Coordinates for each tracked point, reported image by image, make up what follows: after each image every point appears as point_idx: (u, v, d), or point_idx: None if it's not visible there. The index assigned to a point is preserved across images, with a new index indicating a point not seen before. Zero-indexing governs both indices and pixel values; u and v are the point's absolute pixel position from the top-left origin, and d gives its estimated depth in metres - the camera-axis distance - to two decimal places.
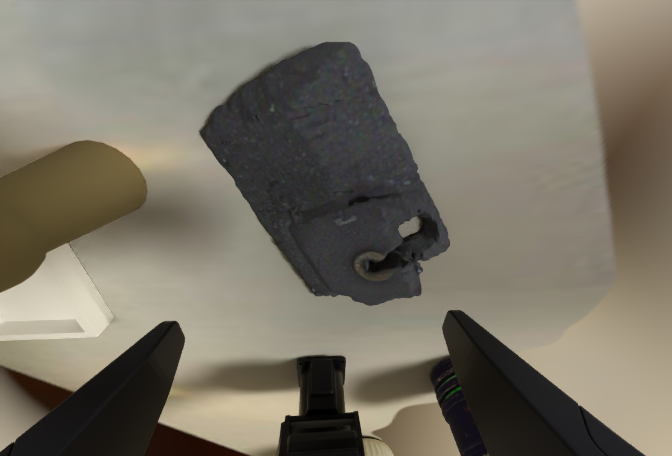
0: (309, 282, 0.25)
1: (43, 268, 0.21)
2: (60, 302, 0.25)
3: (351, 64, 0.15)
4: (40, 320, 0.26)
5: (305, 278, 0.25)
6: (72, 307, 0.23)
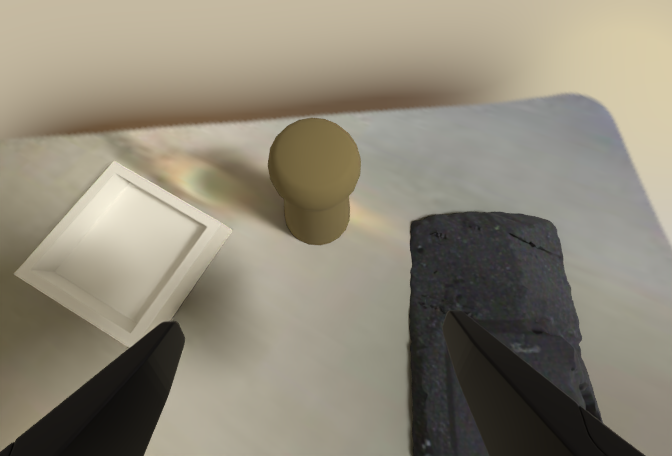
0: (429, 425, 0.19)
1: (206, 238, 0.20)
2: (142, 285, 0.20)
3: (552, 233, 0.22)
4: (88, 293, 0.20)
5: (427, 415, 0.19)
6: (168, 292, 0.19)
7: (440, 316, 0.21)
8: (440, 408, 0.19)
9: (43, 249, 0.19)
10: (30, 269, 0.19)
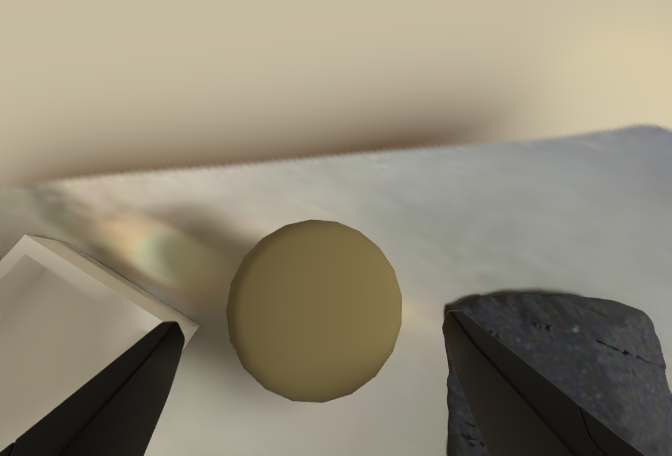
0: None
1: None
2: None
3: (649, 331, 0.15)
4: None
5: None
6: None
7: None
8: None
9: None
10: None
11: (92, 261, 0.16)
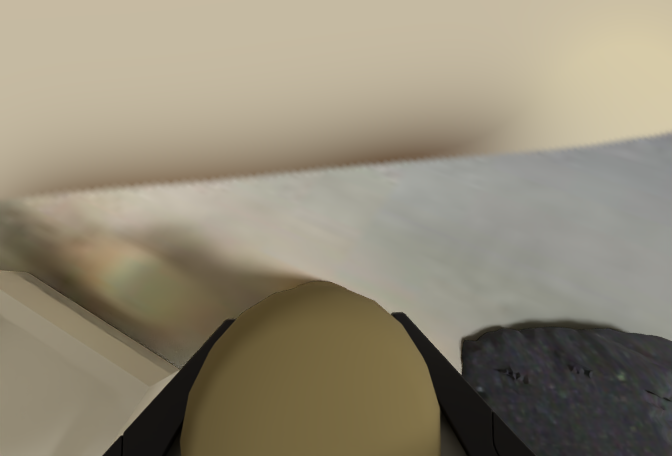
0: None
1: (119, 419, 0.11)
2: None
3: None
4: None
5: None
6: None
7: None
8: None
9: None
10: None
11: (54, 295, 0.14)
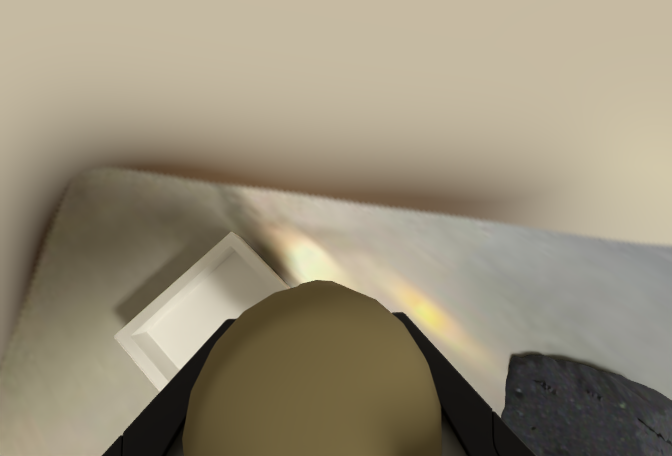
0: None
1: None
2: None
3: None
4: (174, 365, 0.19)
5: None
6: None
7: None
8: None
9: (146, 315, 0.18)
10: (129, 334, 0.18)
11: (259, 257, 0.21)
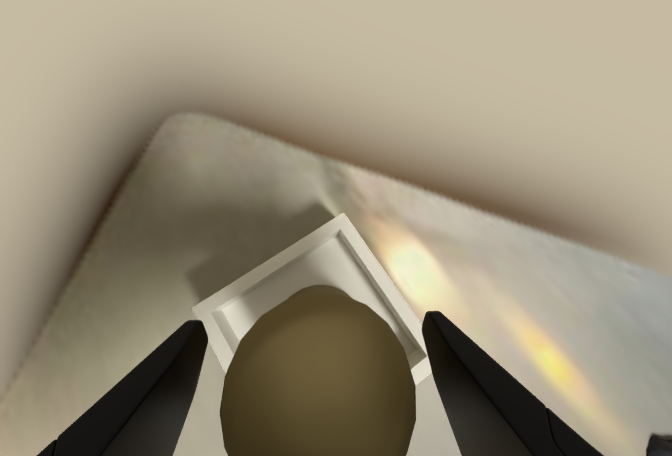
0: None
1: (421, 372, 0.14)
2: None
3: None
4: None
5: None
6: None
7: None
8: None
9: (232, 291, 0.15)
10: (210, 309, 0.15)
11: None
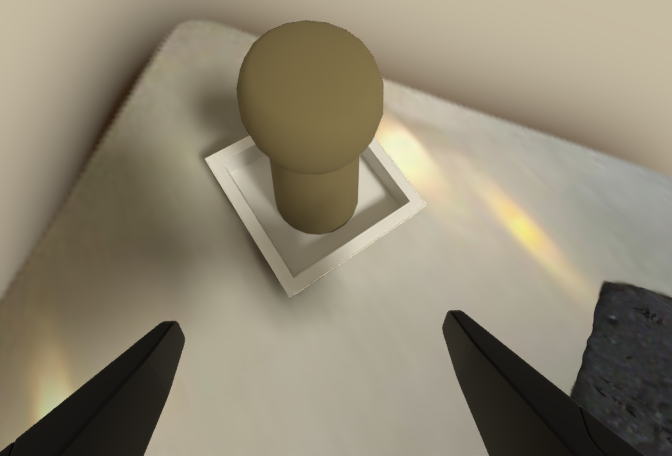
0: None
1: (405, 213, 0.17)
2: None
3: None
4: (253, 211, 0.18)
5: None
6: (346, 252, 0.16)
7: (627, 417, 0.15)
8: None
9: (240, 147, 0.17)
10: (220, 161, 0.17)
11: None
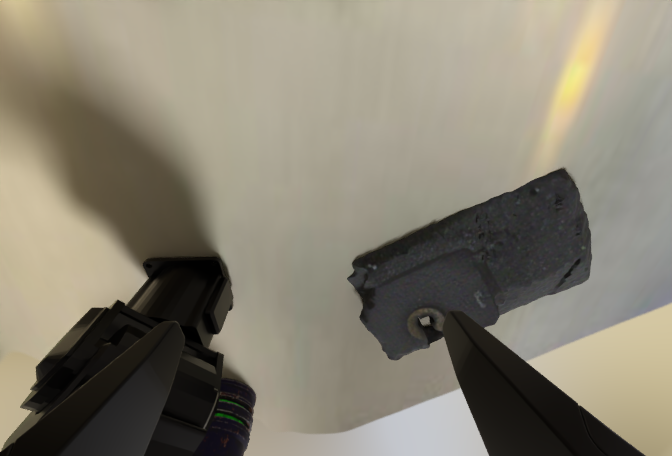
0: (386, 263, 0.23)
1: None
2: None
3: (576, 283, 0.24)
4: None
5: (392, 259, 0.23)
6: None
7: (475, 236, 0.22)
8: (403, 265, 0.23)
9: None
10: None
11: None
